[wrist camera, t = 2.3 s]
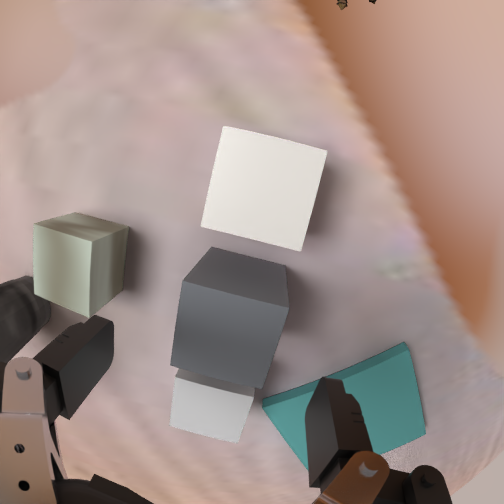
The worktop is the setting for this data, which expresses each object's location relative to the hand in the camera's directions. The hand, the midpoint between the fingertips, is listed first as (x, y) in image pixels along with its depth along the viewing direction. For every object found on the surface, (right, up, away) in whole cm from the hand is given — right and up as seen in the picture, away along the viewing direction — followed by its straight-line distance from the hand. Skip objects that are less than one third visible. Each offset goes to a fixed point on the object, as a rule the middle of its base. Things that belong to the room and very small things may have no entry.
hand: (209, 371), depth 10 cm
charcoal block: (+1, +2, +8) cm, 9 cm away
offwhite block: (+2, +8, +7) cm, 11 cm away
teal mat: (+10, -9, +10) cm, 17 cm away
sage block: (-9, +4, +8) cm, 13 cm away
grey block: (-1, -4, +10) cm, 11 cm away
